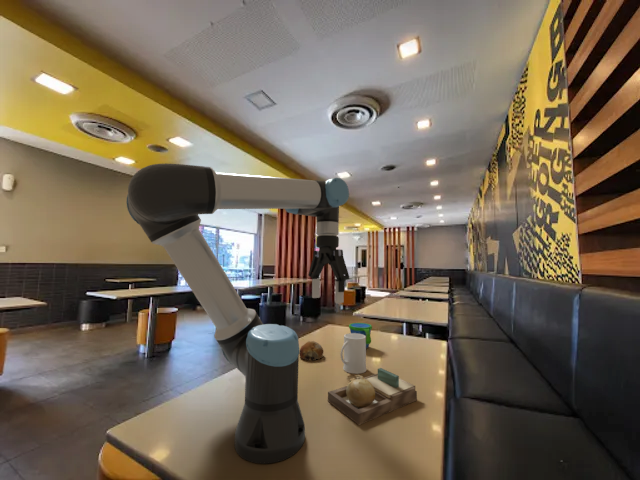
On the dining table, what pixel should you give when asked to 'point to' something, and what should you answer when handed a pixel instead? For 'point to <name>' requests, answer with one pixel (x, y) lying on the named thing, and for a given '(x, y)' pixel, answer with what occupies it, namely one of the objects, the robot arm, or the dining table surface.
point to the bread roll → (311, 351)
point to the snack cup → (362, 330)
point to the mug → (354, 353)
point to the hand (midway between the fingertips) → (326, 300)
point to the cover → (388, 383)
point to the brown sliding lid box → (376, 408)
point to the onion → (360, 392)
